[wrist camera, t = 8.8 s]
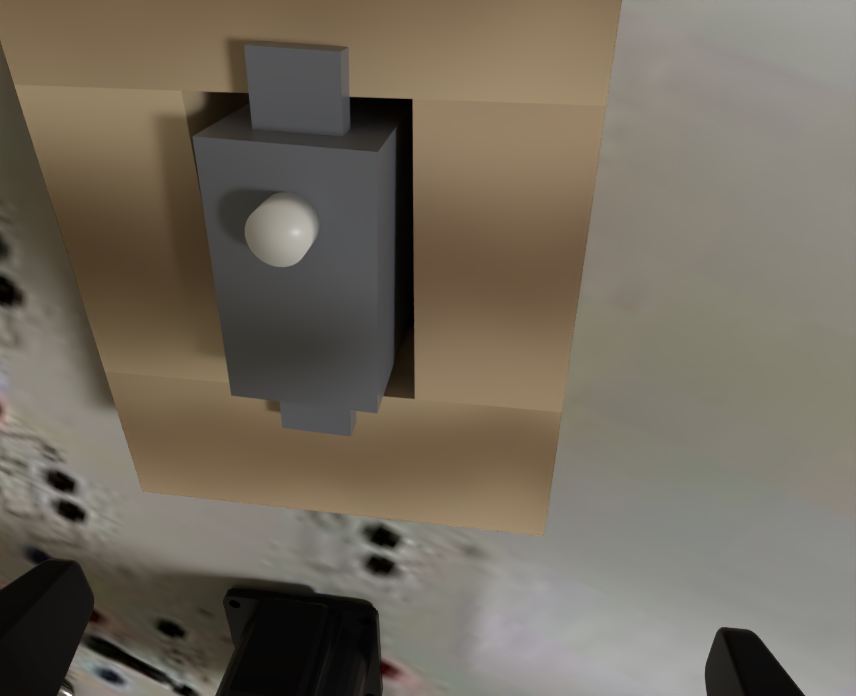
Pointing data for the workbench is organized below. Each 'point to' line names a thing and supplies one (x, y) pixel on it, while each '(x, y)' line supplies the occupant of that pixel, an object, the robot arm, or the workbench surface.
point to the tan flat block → (433, 238)
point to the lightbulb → (65, 690)
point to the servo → (310, 235)
